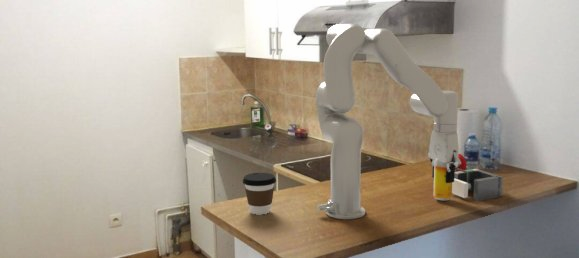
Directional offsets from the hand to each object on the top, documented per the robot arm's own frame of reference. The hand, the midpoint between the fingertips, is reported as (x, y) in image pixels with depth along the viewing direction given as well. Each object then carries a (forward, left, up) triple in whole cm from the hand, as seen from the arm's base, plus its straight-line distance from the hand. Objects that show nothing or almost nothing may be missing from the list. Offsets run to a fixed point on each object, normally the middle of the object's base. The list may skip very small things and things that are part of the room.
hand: (443, 179), depth 189 cm
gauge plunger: (+9, +1, -6) cm, 11 cm away
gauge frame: (+15, 0, -7) cm, 17 cm away
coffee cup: (-60, +18, -8) cm, 63 cm away
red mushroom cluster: (+21, +17, -8) cm, 28 cm away
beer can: (0, 0, -7) cm, 7 cm away
